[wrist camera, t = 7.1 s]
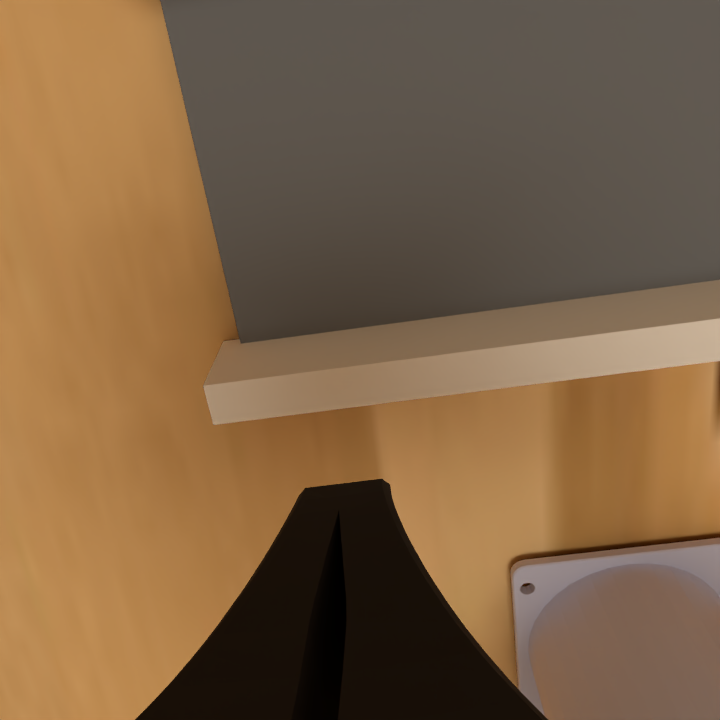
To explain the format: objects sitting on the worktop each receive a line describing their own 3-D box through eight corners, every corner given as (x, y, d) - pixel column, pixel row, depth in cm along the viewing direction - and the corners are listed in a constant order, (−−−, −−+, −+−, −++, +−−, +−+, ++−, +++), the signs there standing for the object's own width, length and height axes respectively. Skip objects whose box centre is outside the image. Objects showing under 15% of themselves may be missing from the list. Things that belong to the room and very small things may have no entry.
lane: (1126, 259, 20) (1249, 293, 17) (232, 376, 21) (213, 425, 19) (1299, -262, 15) (1509, -331, 12) (124, -64, 16) (77, -85, 14)
